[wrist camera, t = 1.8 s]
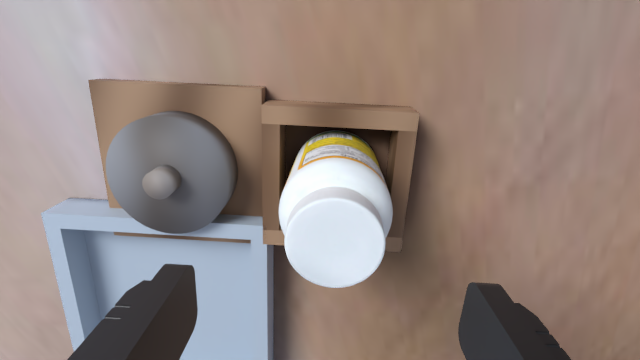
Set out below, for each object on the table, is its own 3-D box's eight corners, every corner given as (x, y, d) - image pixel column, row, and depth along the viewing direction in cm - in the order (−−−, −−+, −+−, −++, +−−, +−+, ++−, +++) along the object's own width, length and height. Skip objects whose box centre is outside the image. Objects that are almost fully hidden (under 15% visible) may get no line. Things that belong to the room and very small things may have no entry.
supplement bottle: (331, 110, 22) (328, 150, 13) (395, 166, 23) (435, 239, 14) (277, 174, 23) (239, 250, 14) (339, 223, 24) (341, 324, 15)
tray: (273, 209, 24) (266, 226, 22) (273, 368, 29) (267, 396, 26) (69, 197, 24) (41, 213, 22) (102, 357, 29) (81, 384, 27)
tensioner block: (411, 94, 21) (430, 103, 17) (393, 243, 24) (404, 281, 20) (101, 78, 22) (45, 84, 17) (124, 227, 25) (81, 261, 21)
